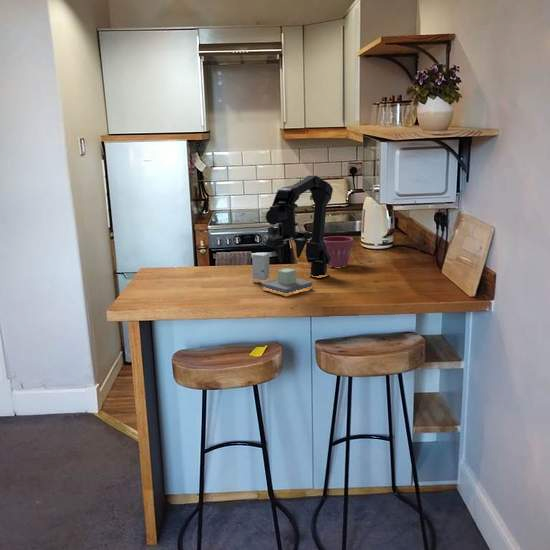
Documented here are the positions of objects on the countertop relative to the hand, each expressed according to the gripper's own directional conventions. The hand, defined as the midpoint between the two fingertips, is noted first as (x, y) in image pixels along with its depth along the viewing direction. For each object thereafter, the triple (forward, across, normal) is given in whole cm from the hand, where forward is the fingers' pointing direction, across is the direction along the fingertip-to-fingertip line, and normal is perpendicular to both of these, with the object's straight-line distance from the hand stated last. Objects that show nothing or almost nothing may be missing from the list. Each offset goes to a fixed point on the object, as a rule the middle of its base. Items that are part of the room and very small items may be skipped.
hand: (289, 259), depth 227 cm
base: (+12, +2, 0) cm, 12 cm away
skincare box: (+12, +1, -16) cm, 20 cm away
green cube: (+9, +2, +1) cm, 9 cm away
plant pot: (+12, -40, -12) cm, 43 cm away
